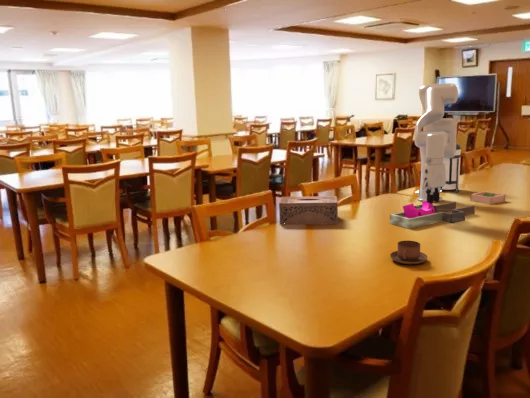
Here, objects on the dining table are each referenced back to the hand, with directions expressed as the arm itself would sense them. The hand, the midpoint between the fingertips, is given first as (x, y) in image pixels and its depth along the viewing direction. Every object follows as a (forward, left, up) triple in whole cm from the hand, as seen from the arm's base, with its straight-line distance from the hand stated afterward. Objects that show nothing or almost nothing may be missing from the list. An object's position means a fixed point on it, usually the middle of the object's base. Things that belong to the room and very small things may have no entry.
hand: (432, 201), depth 213 cm
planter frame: (-8, +50, -8) cm, 51 cm away
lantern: (-38, +57, -8) cm, 68 cm away
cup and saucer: (+34, -50, -8) cm, 61 cm away
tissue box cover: (-32, -45, -8) cm, 56 cm away
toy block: (+1, -6, -7) cm, 9 cm away
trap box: (0, 0, -8) cm, 8 cm away
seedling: (-6, +47, -8) cm, 48 cm away
